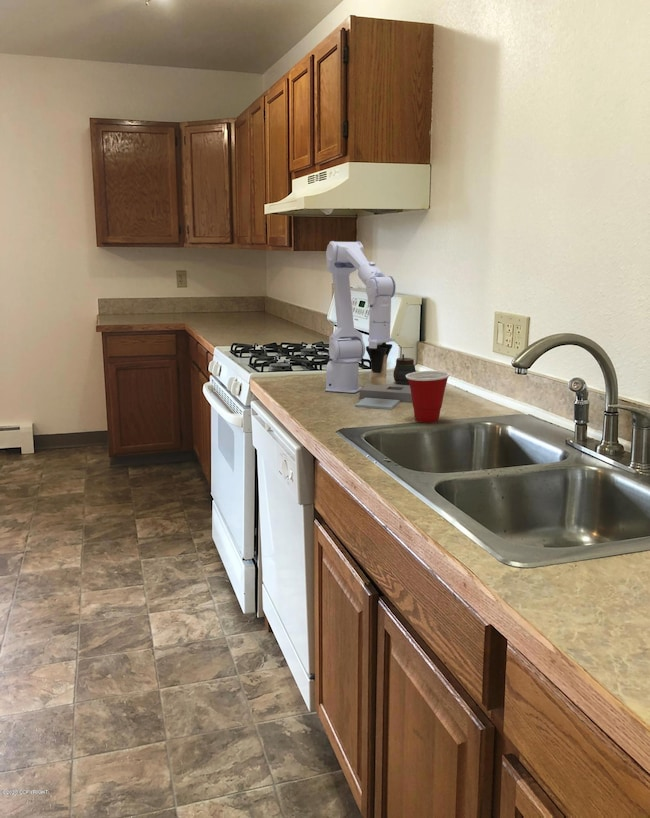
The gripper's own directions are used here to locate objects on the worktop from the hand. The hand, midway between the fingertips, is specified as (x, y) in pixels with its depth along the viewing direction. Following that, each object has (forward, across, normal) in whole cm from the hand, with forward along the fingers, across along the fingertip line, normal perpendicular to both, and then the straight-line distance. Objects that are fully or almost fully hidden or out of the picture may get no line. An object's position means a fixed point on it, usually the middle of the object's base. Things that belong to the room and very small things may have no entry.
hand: (378, 371), depth 195 cm
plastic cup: (+9, -14, -16) cm, 23 cm away
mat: (+9, 0, 0) cm, 9 cm away
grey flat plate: (+9, +12, -2) cm, 15 cm away
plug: (+3, 0, 0) cm, 3 cm away
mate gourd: (+9, +34, 0) cm, 35 cm away
